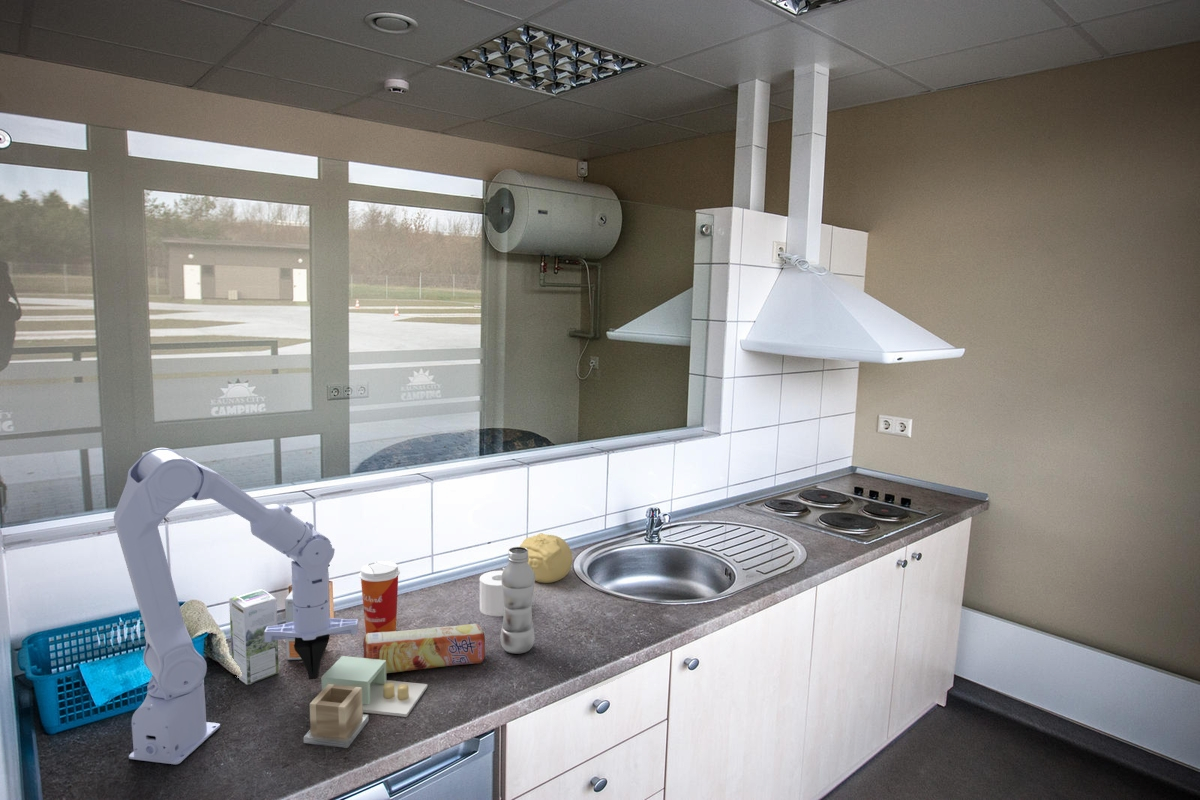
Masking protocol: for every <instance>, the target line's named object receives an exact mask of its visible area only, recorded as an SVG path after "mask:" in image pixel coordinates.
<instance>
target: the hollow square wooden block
mask: <svg viewBox="0 0 1200 800" xmlns="http://www.w3.org/2000/svg"><path fill="white" fill-rule="evenodd" d="M363 714H364V712H363V710H362V687H354V686H344V685H334V684H328V685H327V686H326V687H325V688H324V689H323V690H322V689H321V691H320V692H319V693H318V694H317V695H316V696H315V698H313V699H312V701H311V702H310V703H309V722H310V723H309V725H310V729H311V734H313V735H322V736H331V737H340V738H346V737H347V736H348V734H349V733H350V732H351V731H352V729H353V728H354V727H355V726H356V724H357V723H358V722H359V721H360V719H361V718H362V717H363ZM310 729H309V730H310Z"/></svg>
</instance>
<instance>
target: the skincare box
mask: <svg viewBox="0 0 1200 800" xmlns="http://www.w3.org/2000/svg"><path fill="white" fill-rule="evenodd" d="M284 607H285V608H284V610H285V613H284V614H285V623H289V622H294V621H293V596H292V590H291V591H290V592H289V594H288V595H287V596H286V598H285V599H284ZM285 641H286V646H285V647H286V660H288V661H291V660H302V659H301V657H300V656H299V654H298V653H297V652H296V651H295V648H294V644H295V638H291V639H285Z"/></svg>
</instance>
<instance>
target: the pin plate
mask: <svg viewBox="0 0 1200 800" xmlns="http://www.w3.org/2000/svg"><path fill="white" fill-rule="evenodd" d="M369 716H370V715H369V714H364V713H363V717H362V718H361V719H360V721H359V722H358V723H357V724H356V726H355V727H354V728H353V729H352V731H351V732H350V733H349V734H348V736H347V737H346V738H340V737H331V736H322V735H313V734H311V729H309V730H308V731H307V732H306V733H305V735H304V736H303V738H302V739H303V744H311V745H320V746H325V747H326V746H327V747H334V748H336V747H337V748H344V749H348V748H349V747H350V745H351V744H352V743H353V742H354V740H355V739H356V738H357V736H358V735H359V734H360V732H361V731H362V730H363V729H364V727H365V726H366V725H367V724H368V722H369Z"/></svg>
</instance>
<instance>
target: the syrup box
mask: <svg viewBox="0 0 1200 800" xmlns="http://www.w3.org/2000/svg"><path fill="white" fill-rule="evenodd" d="M228 600H229V602H228V603H229V605H228V606H229V621H230V622H229V624H230V646H231V647H230V648H231V659H232V658H233V659H234V661H235V662H236V663H237V665H238V666H239V667H240V670H241V672H242V676H241V677H238V676H237V677H236V678H237V679H238V678H239V680H240V681H241V682H242V683H244V684H245V685H246V686H250V685H252V684H254V683H257V682H259V681H262V680H264V679H267V678H269V677H272V676H275V675H277V674H279V673H280V670H279V669H280V668H279V640H272V642H266V643H265V635H264V632H265V629H266V627H267V626H275V625H278V604H277V601H278V600H277V598H276V597H275V596H273V595H272V594H271V593H270V592H268V591H266V590H264V589H261V588H259V589H256V590H254V591H250V592H247V593H244V594H241V595H238V596H233V597H231V598H229V599H228Z"/></svg>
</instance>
